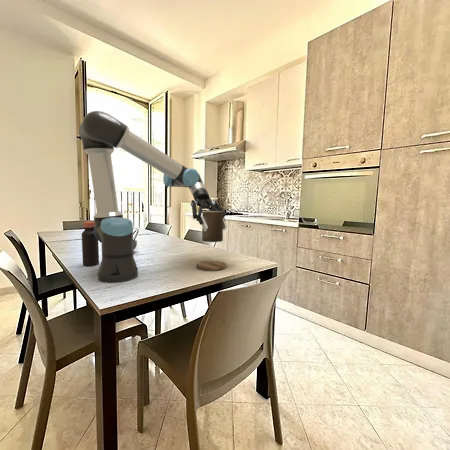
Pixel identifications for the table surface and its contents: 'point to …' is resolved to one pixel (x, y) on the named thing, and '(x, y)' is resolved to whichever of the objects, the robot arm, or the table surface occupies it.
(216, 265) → the trivet
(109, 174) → the robot arm
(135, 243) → the mortar and pestle
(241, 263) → the table surface
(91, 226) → the bottle
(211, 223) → the pillar candle
